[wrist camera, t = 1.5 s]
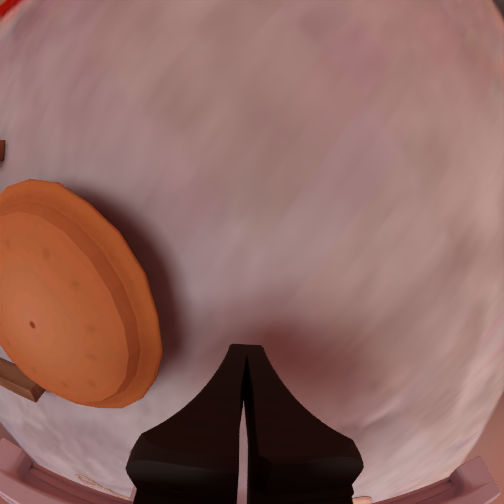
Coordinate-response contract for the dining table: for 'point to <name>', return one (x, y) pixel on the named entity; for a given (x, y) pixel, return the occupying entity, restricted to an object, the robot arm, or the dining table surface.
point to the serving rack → (9, 372)
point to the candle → (362, 500)
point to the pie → (74, 299)
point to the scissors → (99, 486)
